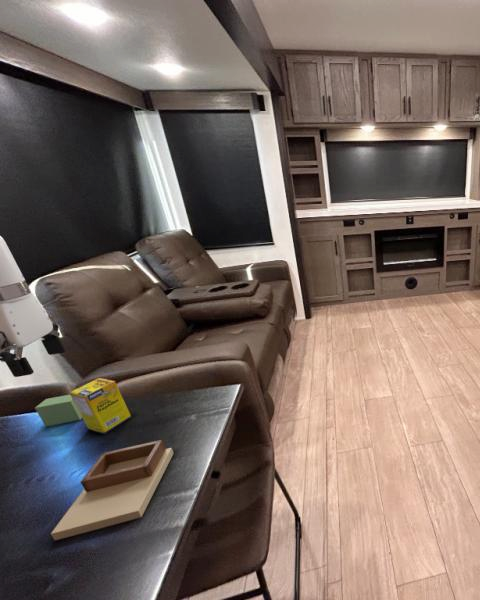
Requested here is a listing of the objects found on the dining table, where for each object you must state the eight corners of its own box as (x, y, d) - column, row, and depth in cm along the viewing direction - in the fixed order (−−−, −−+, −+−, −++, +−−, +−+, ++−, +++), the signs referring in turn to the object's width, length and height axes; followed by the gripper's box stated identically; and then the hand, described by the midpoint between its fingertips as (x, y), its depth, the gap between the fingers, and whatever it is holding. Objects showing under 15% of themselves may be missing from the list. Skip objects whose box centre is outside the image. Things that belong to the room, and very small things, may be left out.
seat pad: (142, 519, 53) (132, 500, 51) (55, 542, 50) (42, 523, 49) (174, 454, 66) (167, 437, 64) (106, 470, 63) (97, 453, 61)
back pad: (80, 421, 78) (70, 401, 76) (46, 428, 76) (34, 408, 74) (89, 412, 81) (79, 392, 79) (56, 418, 80) (45, 398, 77)
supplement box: (132, 418, 78) (115, 380, 74) (105, 436, 72) (84, 396, 69) (117, 414, 80) (99, 377, 76) (88, 431, 74) (68, 392, 70)
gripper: (16, 284, 74) (50, 349, 80) (-64, 311, 58) (-14, 389, 64) (55, 279, 75) (85, 343, 81) (-13, 304, 60) (31, 381, 66)
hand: (42, 363), depth 73 cm, fingers open, 9 cm apart
